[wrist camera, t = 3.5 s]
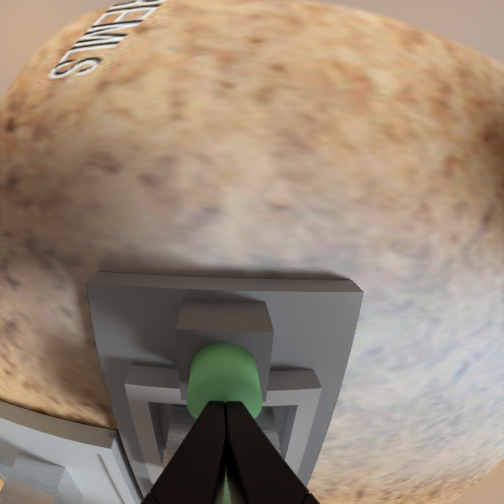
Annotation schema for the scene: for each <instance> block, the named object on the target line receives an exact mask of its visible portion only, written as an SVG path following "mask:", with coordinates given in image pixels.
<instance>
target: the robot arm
mask: <svg viewBox="0 0 504 504" xmlns="http://www.w3.org/2000/svg"><path fill="white" fill-rule="evenodd" d="M226 477H227V484H228V490H229V495H230V500H231V504H320V503H319V502H318V500H317V499H316V498H315V497H314V496H313V494H312V493H309V490H308V489H307V487H306V486H305V485H304V484H303V483H302V481H301V480H300V479H299V478H298V476H297V475H296V474H295V473H294V471H293V470H292V469H291V468H290V466H289V465H288V464H287V462H286V461H285V460H284V458H283V457H282V456H281V455H280V453H279V452H278V451H277V449H276V448H275V447H274V445H273V444H272V443H271V441H270V440H269V439H268V437H267V436H266V435H265V433H264V432H263V430H262V429H261V428H260V426H259V425H258V424H257V422H256V421H255V419H254V418H253V416H252V415H251V414H250V412H249V411H248V409H247V408H246V407H245V405H244V404H243V402H241V401H226V403H225V402H224V401H216V400H210V401H208V402H207V404H206V405H205V407H204V409H203V410H202V412H201V413H200V415H199V416H198V418H197V420H196V421H195V423H194V424H193V426H192V427H191V429H190V430H189V432H188V434H187V435H186V437H185V438H184V440H183V441H182V443H181V444H180V446H179V447H178V449H177V450H176V452H175V453H174V455H173V456H172V458H171V459H170V461H169V462H168V464H167V465H166V467H165V468H164V470H163V471H162V473H161V474H160V476H159V477H158V479H157V480H156V482H155V483H154V485H153V486H152V488H151V489H150V491H149V492H150V493H147V495H146V496H145V497H144V499H143V500H142V502H141V503H140V504H223V497H224V488H225V478H226Z"/></svg>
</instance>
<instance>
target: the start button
mask: <svg viewBox="0 0 504 504" xmlns="http://www.w3.org/2000/svg"><path fill="white" fill-rule="evenodd" d="M210 400H216V401H224V402H225V403H226V401H241V402H243V404H244V405H245V407H246V408H247V409H248V411H249V412H250V414H251V415H252V416H253V418H254V419H255V418H256V417H257V416H258V415H259V413H260V411H261V409H262V396H261V389H260V383H259V377H258V371H257V365H256V361H255V359H254V357H253V356H252V354H251V353H250V352H249V351H247V350H246V349H245V348H243V347H241V346H239V345H236V344H232V343H215V344H211V345H208V346H206V347H204V348H203V349H201V350H200V351H199V352H198V353H197V354H196V355H195V356H194V358H193V360H192V364H191V370H190V378H189V385H188V393H187V408H188V410H189V412H190V414H191V415H192V416H193V417H194V418H195V419H196V420H197V418H198V416H199V415H200V413H201V412H202V410H203V409H204V407H205V405H206V404H207V402H208V401H210Z"/></svg>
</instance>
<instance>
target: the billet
mask: <svg viewBox="0 0 504 504" xmlns="http://www.w3.org/2000/svg"><path fill="white" fill-rule="evenodd" d="M82 497H83V494H82V493H81V491H80V490H79V488H78V487H77V485H76V484H75V482H74V481H73V479H72V477H71V476H70V474H69V473H68V471H67V469H66V468H65V467H62V466H59V465H56V464H52V463H49V462H46V461H43V460H40V459H37V458H34V457H32V456H29V455H26V454H23V453H21V452H20V453H19V455H18V457H17V459H16V461H15V463H14V465H13V467H12V469H11V471H10V473H9V475H8V477H7V479H6V481H5V483H4V485H3V487H2V489H1V492H0V504H81V500H82Z"/></svg>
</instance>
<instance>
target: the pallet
mask: <svg viewBox="0 0 504 504" xmlns="http://www.w3.org/2000/svg"><path fill="white" fill-rule="evenodd" d="M86 286H87V294H88V301H89V307H90V314H91V320H92V326H93V331H94V336H95V342H96V347H97V351H98V356H99V361H100V365H101V369H102V374H103V378H104V382H105V386H106V390H107V393H108V397H109V401H110V404H111V408H112V411H113V415H114V418H115V421H116V425H117V428H118V431H119V434H120V437H121V440H122V443H123V446H124V449H125V451H126V454H127V457H128V460H129V462H130V465H131V468H132V470H133V473H134V475H135V478H136V480H137V483H138V485H139V488H140V490H141V492H142V495H143V497H145V496H146V495H147V493H150V492H149V491H150V489H151V488H152V486H153V485H154V483H155V482H156V480H157V479H158V477H159V476H160V474H161V473H162V471H163V466H164V459H165V452H166V445H167V439H168V432H169V426H170V420H171V414H172V408H173V404H181V405H187V393H188V385H189V378H190V370H191V364H192V360H193V358H194V356H195V355H196V354H197V353H198V352H199V351H200V350H201V349H203V348H204V347H206V346H208V345H211V344H215V343H232V344H236V345H239V346H241V347H243V348H245V349H246V350H247V351H249V352H250V353H251V354H252V356H253V357H254V359H255V361H256V365H257V371H258V377H259V383H260V389H261V396H262V406H272V409H273V414H274V419H275V424H276V429H277V434H278V439H279V444H280V448H281V453H282V457H283V458H284V460H285V461H286V462H287V464H288V465H289V466H290V468H291V469H292V470H293V471H294V473H295V474H296V475H297V476H298V478H299V479H300V480H301V481H302V483H303V484H304V485H305V486H306V487H307V485H308V482H309V480H310V477H311V475H312V472H313V469H314V467H315V464H316V461H317V459H318V456H319V453H320V450H321V448H322V445H323V442H324V439H325V436H326V433H327V430H328V427H329V424H330V421H331V418H332V415H333V411H334V408H335V405H336V402H337V398H338V395H339V392H340V388H341V385H342V381H343V377H344V374H345V370H346V366H347V363H348V359H349V355H350V351H351V347H352V343H353V339H354V334H355V330H356V326H357V321H358V317H359V312H360V307H361V302H362V298H363V293H364V292H363V291H362V290H361V289H360V288H359V287H358V286H357V285H356V284H355V283H354V282H353V281H352V280H305V279H261V278H228V277H200V276H176V275H154V274H134V273H116V272H99V271H98V272H97V273H96V274H95V275H94V276H93V277H92V278H90V279H89V280H88V281H87V282H86Z"/></svg>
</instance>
